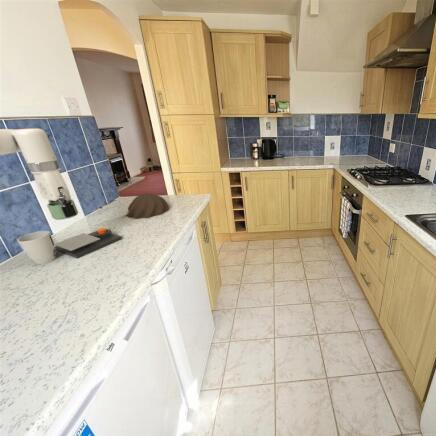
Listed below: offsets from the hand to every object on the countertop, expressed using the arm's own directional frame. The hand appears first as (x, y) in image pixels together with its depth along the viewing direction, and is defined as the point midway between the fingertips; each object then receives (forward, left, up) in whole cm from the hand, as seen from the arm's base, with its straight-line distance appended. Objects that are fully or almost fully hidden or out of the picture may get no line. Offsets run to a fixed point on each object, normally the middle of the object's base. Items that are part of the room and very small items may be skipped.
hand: (65, 214), depth 90 cm
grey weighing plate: (+1, 0, -11) cm, 11 cm away
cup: (-1, -10, -15) cm, 18 cm away
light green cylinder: (0, 0, -1) cm, 1 cm away
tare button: (+1, +9, -12) cm, 15 cm away
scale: (+1, +3, -14) cm, 15 cm away
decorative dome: (-10, +37, -15) cm, 41 cm away
